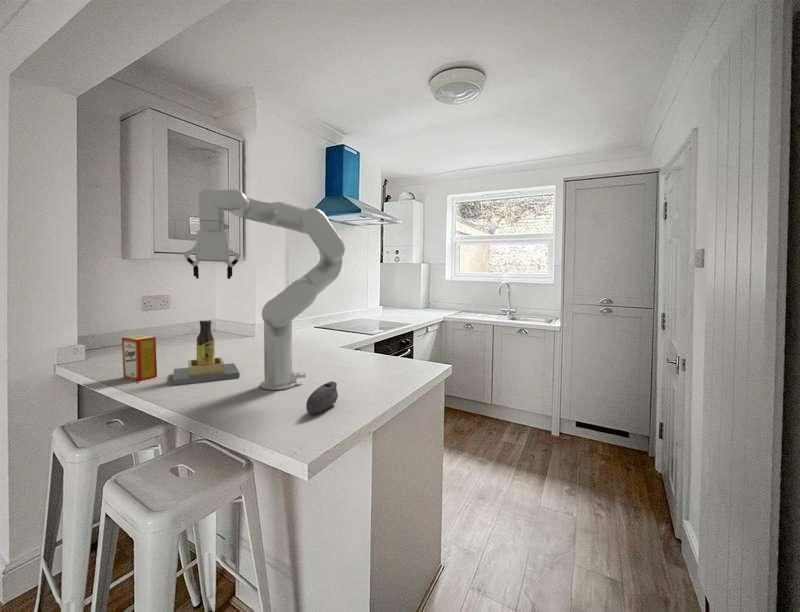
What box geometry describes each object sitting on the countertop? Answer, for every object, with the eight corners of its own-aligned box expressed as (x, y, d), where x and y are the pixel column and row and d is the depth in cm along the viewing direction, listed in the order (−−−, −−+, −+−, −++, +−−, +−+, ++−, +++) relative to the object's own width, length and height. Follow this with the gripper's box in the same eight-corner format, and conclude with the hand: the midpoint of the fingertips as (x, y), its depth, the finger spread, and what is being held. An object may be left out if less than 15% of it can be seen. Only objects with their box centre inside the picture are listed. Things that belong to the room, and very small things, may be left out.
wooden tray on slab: (234, 367, 160) (233, 355, 160) (239, 377, 145) (239, 363, 144) (174, 373, 149) (173, 360, 149) (173, 385, 134) (172, 370, 133)
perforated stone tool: (314, 419, 104) (314, 395, 103) (299, 416, 106) (298, 392, 105) (342, 403, 118) (342, 381, 117) (327, 400, 120) (327, 379, 119)
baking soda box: (157, 377, 144) (155, 336, 143) (139, 381, 138) (137, 338, 137) (141, 374, 148) (139, 334, 147) (123, 378, 142) (121, 336, 141)
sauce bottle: (207, 373, 143) (205, 321, 141) (192, 372, 144) (191, 321, 143) (218, 369, 149) (217, 319, 148) (205, 368, 150) (203, 319, 149)
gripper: (238, 230, 133) (239, 278, 135) (182, 226, 125) (183, 278, 126) (241, 228, 127) (242, 279, 128) (182, 224, 118) (183, 278, 119)
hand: (213, 278), depth 127 cm, fingers open, 9 cm apart
